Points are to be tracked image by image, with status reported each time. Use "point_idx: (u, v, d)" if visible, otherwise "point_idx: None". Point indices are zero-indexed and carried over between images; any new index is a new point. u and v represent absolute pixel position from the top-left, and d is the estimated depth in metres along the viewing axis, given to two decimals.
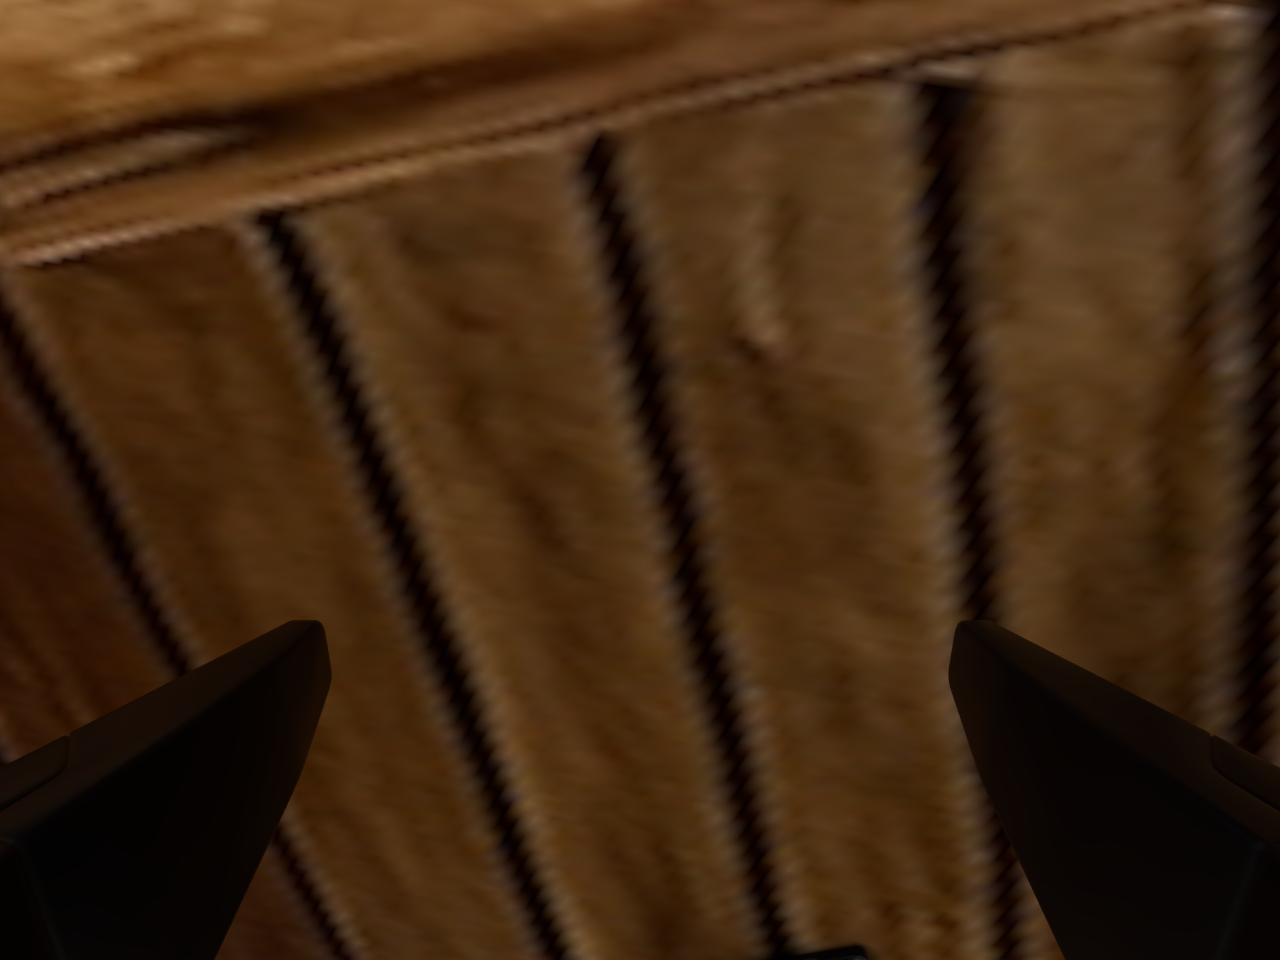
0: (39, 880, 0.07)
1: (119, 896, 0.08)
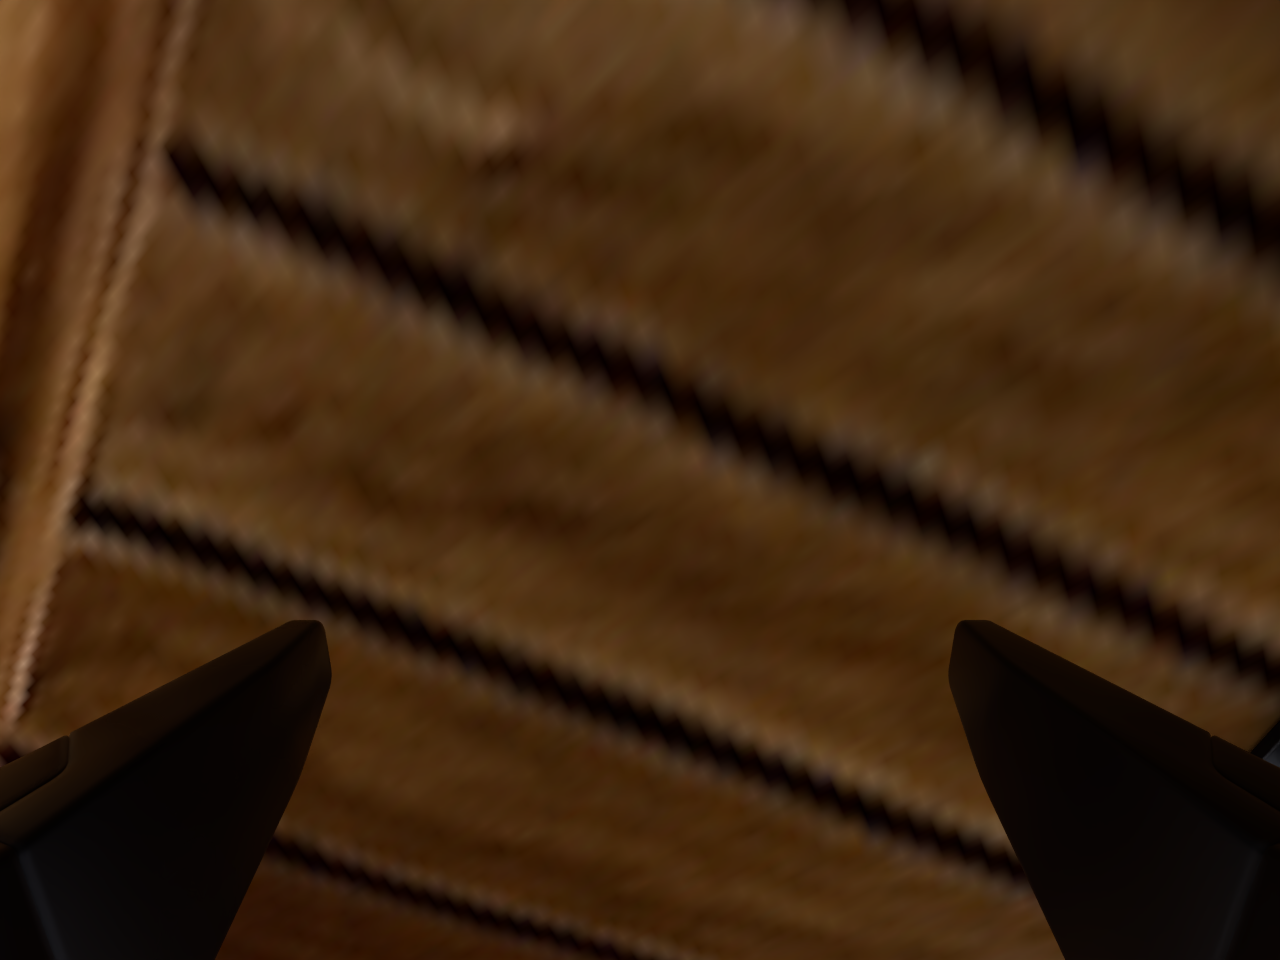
0: (39, 881, 0.07)
1: (119, 897, 0.08)
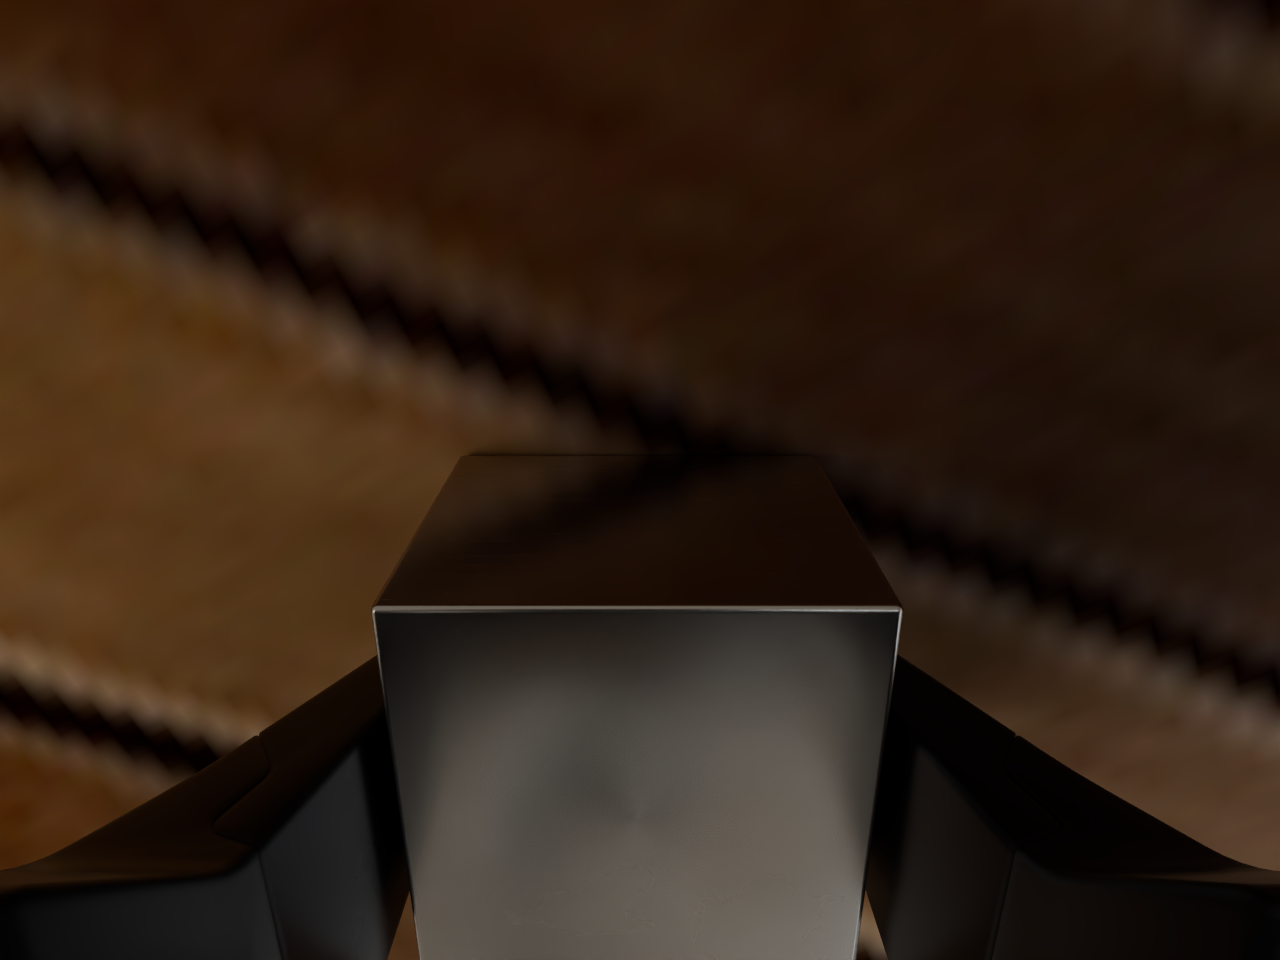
0: (273, 880, 0.07)
1: (325, 896, 0.08)
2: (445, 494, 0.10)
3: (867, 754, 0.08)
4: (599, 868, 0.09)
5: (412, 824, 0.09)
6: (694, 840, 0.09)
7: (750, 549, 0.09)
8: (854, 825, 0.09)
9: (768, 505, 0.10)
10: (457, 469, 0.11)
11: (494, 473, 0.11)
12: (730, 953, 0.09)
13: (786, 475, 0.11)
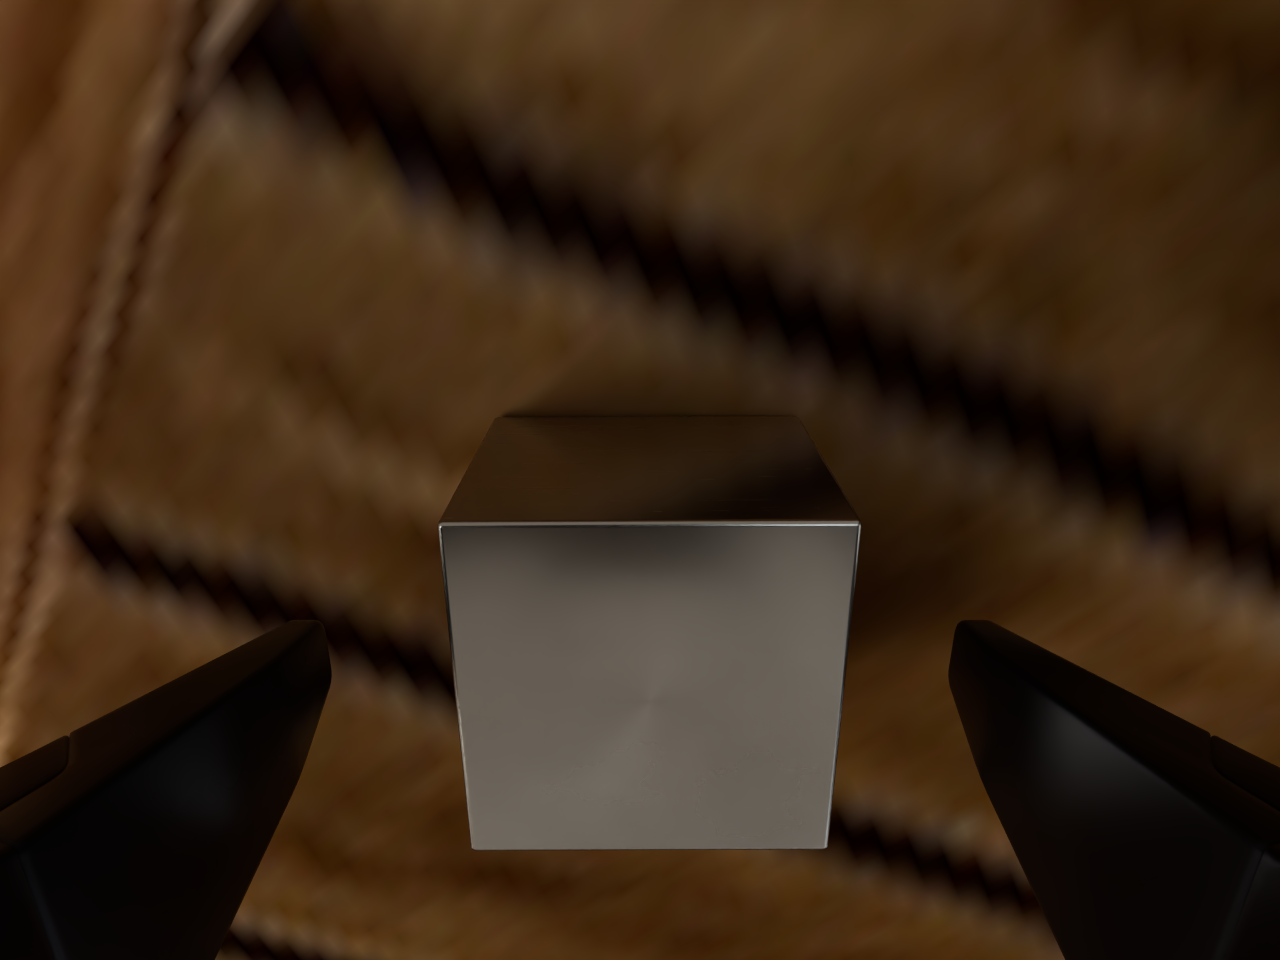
0: (39, 880, 0.07)
1: (119, 896, 0.08)
2: (486, 445, 0.12)
3: (835, 645, 0.10)
4: (618, 743, 0.11)
5: (466, 707, 0.11)
6: (695, 720, 0.11)
7: (740, 483, 0.11)
8: (826, 706, 0.11)
9: (756, 452, 0.12)
10: (493, 427, 0.13)
11: (525, 430, 0.13)
12: (726, 820, 0.11)
13: (772, 430, 0.13)
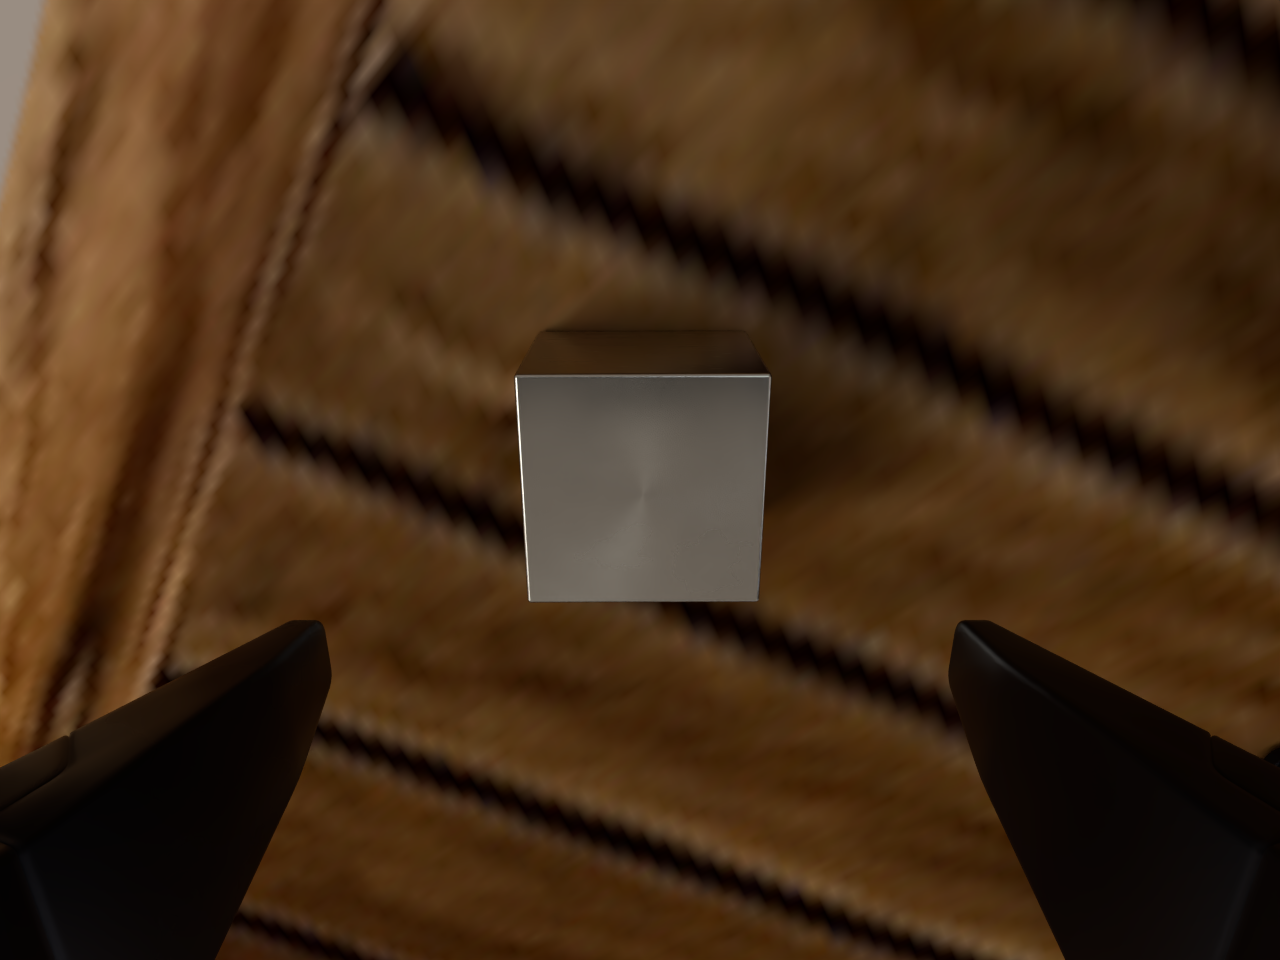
0: (40, 880, 0.07)
1: (119, 896, 0.08)
2: (536, 344, 0.19)
3: (758, 456, 0.17)
4: (623, 524, 0.17)
5: (527, 498, 0.17)
6: (672, 508, 0.17)
7: (701, 359, 0.17)
8: (753, 498, 0.17)
9: (713, 346, 0.18)
10: (539, 336, 0.19)
11: (560, 337, 0.19)
12: (692, 580, 0.18)
13: (726, 337, 0.19)
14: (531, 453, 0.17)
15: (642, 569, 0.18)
